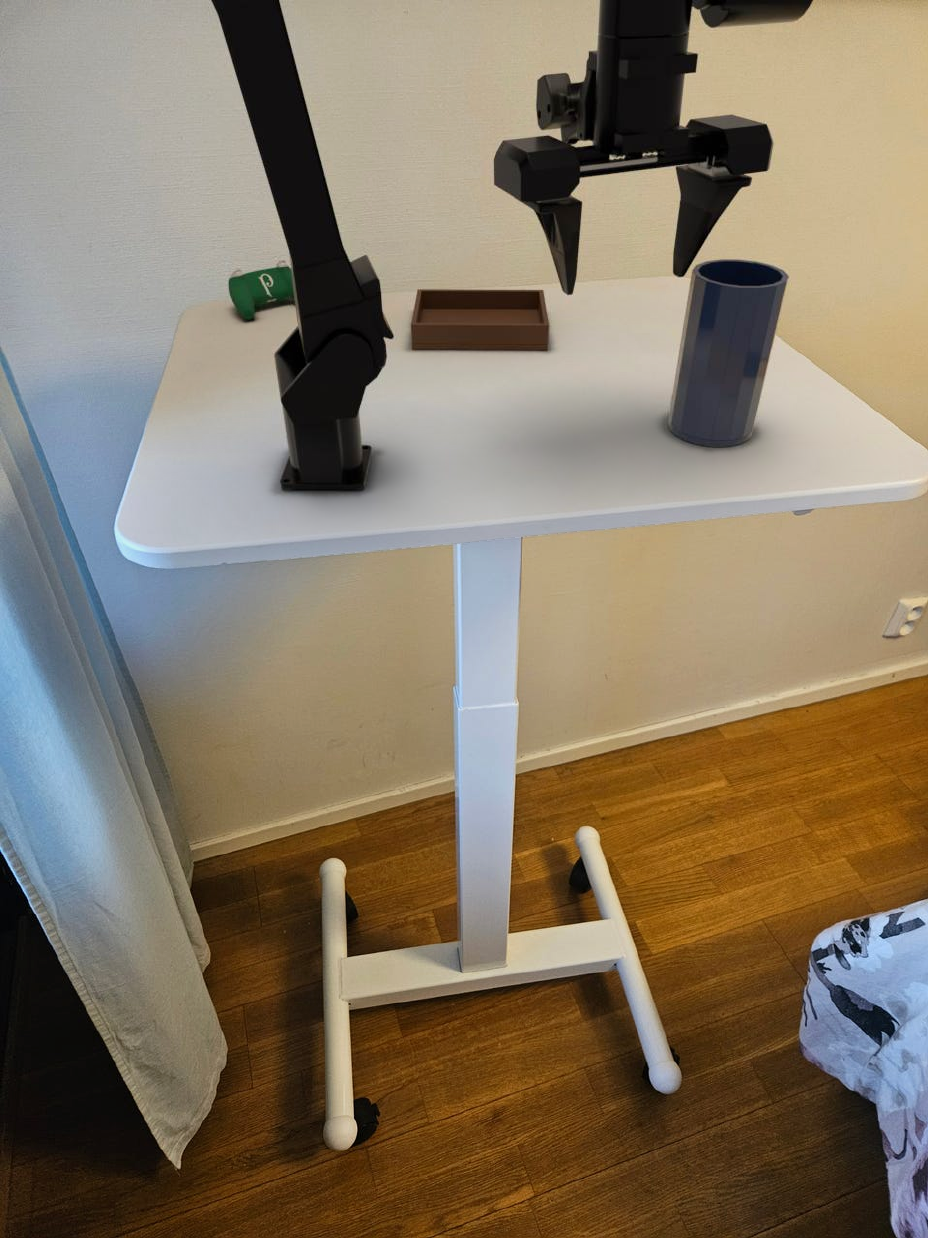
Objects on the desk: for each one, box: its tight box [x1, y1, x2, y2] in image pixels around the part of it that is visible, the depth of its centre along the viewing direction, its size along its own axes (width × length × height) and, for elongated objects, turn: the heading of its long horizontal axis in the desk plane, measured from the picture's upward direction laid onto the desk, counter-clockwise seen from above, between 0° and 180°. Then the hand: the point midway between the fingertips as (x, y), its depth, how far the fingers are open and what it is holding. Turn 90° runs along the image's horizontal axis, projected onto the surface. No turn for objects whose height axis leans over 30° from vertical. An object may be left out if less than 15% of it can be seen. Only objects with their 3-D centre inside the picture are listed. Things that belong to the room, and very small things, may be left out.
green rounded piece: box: [228, 259, 295, 321], centre depth 96 cm, size 9×4×6 cm
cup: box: [667, 258, 790, 448], centre depth 69 cm, size 7×7×13 cm
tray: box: [410, 288, 550, 351], centre depth 91 cm, size 11×14×3 cm
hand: (623, 284), depth 64 cm, fingers open, 9 cm apart
